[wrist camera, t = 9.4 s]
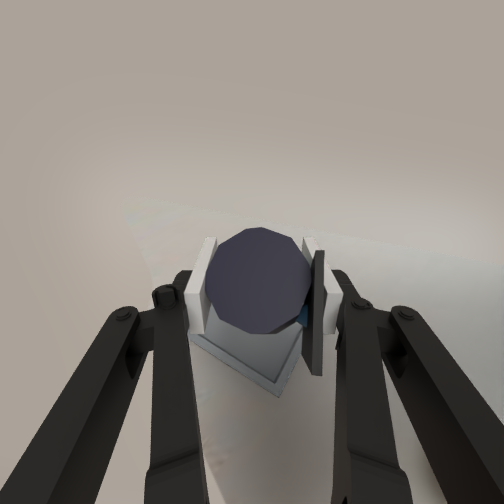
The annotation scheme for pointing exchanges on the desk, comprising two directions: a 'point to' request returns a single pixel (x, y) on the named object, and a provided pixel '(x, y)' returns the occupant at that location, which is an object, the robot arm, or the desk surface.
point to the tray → (253, 351)
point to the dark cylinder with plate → (269, 288)
